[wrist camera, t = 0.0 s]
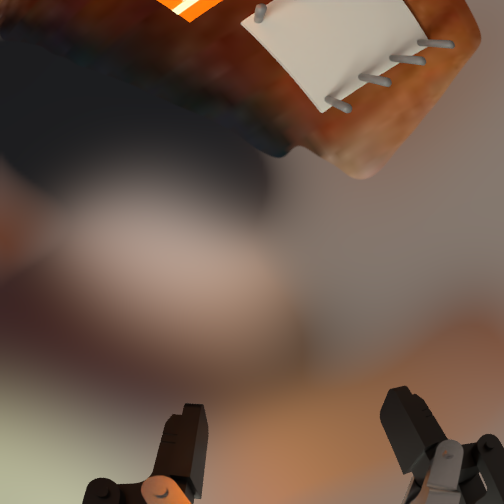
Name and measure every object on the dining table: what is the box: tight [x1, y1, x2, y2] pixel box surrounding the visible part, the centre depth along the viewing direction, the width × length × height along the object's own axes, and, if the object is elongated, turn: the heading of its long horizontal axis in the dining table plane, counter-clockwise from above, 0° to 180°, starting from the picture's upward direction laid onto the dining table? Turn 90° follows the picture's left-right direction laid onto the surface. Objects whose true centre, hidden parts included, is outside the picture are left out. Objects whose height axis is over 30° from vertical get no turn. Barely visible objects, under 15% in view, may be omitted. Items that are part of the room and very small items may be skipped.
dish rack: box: [241, 0, 455, 113], centre depth 20 cm, size 15×20×8 cm
